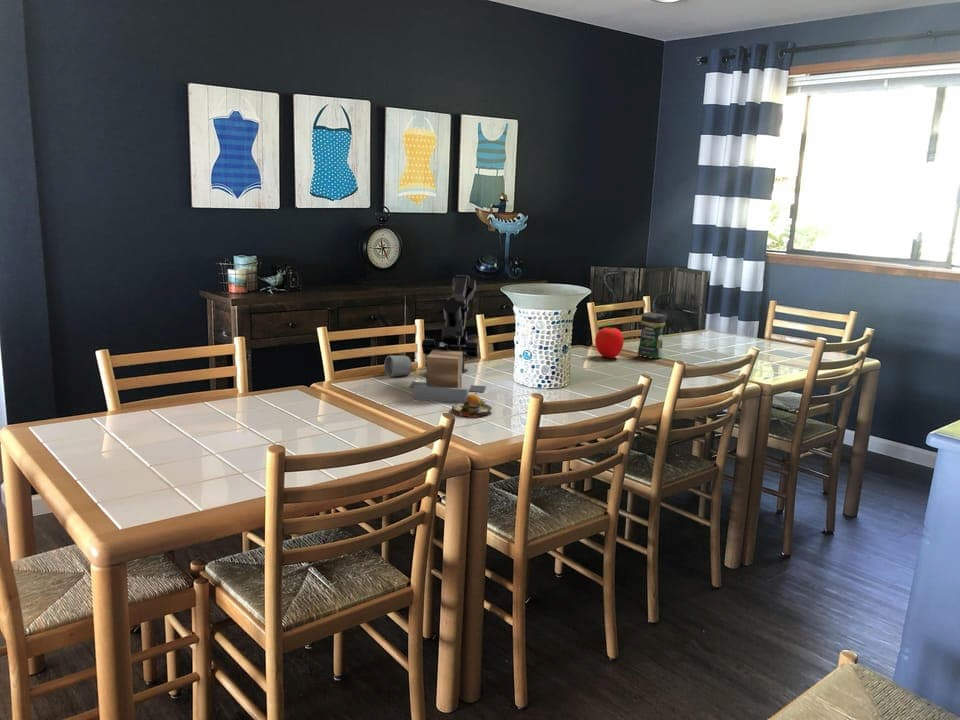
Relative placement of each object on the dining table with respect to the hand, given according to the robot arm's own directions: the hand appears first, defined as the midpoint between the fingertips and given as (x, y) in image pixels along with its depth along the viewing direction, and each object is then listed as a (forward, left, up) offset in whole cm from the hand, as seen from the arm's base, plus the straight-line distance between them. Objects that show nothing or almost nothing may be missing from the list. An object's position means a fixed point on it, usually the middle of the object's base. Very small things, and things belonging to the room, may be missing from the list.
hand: (447, 369), depth 256 cm
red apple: (-81, +37, -7) cm, 89 cm away
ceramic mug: (-9, -24, -7) cm, 26 cm away
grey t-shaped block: (+11, +3, -7) cm, 13 cm away
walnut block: (+6, +2, -7) cm, 9 cm away
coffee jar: (-92, +52, -7) cm, 106 cm away
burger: (+22, +18, -7) cm, 29 cm away
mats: (-2, -1, -7) cm, 7 cm away
